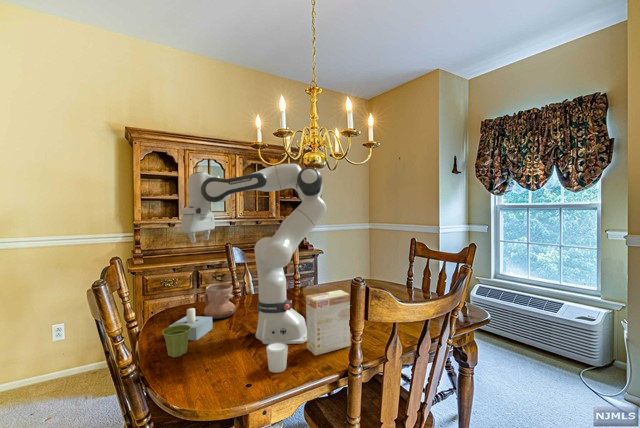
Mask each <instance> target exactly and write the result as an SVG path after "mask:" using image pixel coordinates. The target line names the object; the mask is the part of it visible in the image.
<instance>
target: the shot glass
mask: <svg viewBox="0 0 640 428" xmlns="http://www.w3.org/2000/svg"><path fill="white" fill-rule="evenodd" d="M288 349H289V347H288V344H285V343H282V342H276V343H271V344H267V345H266V356H267V357H266V358H267V367H268V371H269V372H271V373H275V374H276V373H282V372H284V371H286V369H287V364H288V363H287V362H288V361H287V360H288Z"/></svg>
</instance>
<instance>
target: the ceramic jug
mask: <svg viewBox="0 0 640 428" xmlns="http://www.w3.org/2000/svg"><path fill="white" fill-rule="evenodd" d="M233 287H234V286H233V285H232V284H230V283H229V284H227V283H226V284H224V283H216V284H209V285H207V286H206V288H205V292H204V302H205V305H206V306H205V307H204V309H203V314H204V317H212V320H220V319H225V318H227V317H231V316H232V315H233V314H234V313H235V312H236V309H237V307H236V305H235V304H234V303H233V302H231V301H230V299H233V297H234V294H232V292H233Z"/></svg>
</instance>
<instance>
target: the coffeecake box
mask: <svg viewBox="0 0 640 428" xmlns="http://www.w3.org/2000/svg"><path fill="white" fill-rule="evenodd" d="M350 296H351V295H350V293H348V292H346V291H344V290H342V289H337V290H331V291H326V292H322V293H321V292H320V293H315V294H309V295H308V294H307V295H306V296H305V303H306V304H305V309H306V311H305V313H306V314H305V315H306V316H305V317H306V318H305V320H306V327H307V341H306V348H307V350H308V351H309V352H311V353H312V354H313V355H314V356H320V355H322V354H326V353H330V352H334V351H336V350H340V349H345V348H349V347H352V346H351V332H350V326H349V320H350V306H351V305H350V304H351V299H350V298H351V297H350Z"/></svg>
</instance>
